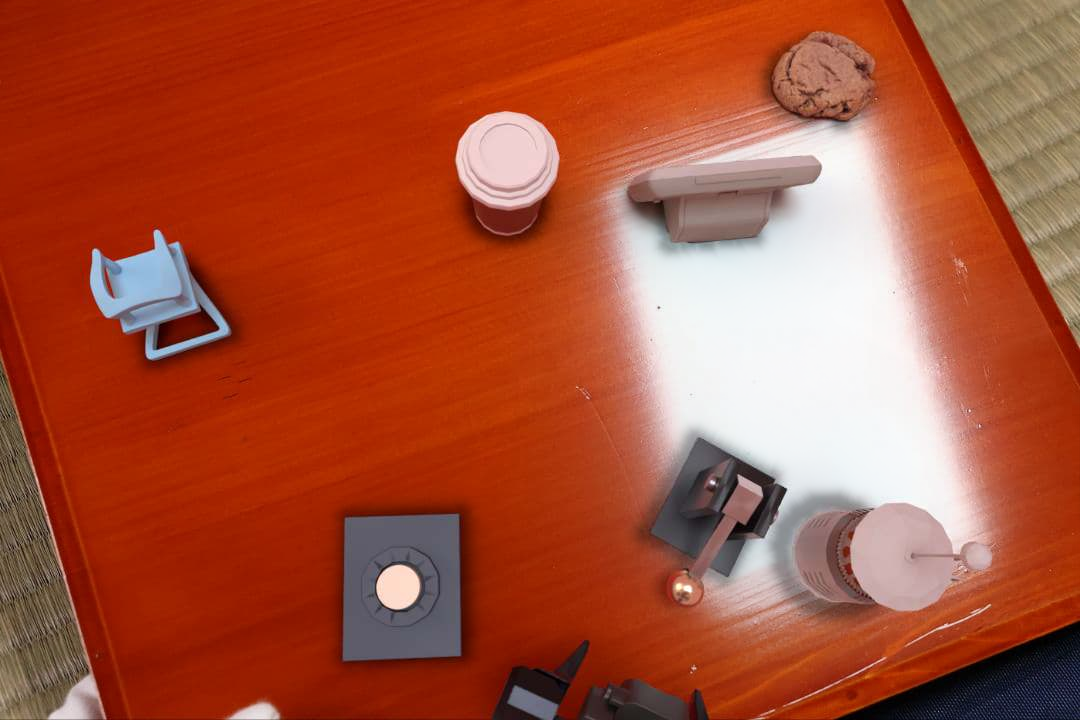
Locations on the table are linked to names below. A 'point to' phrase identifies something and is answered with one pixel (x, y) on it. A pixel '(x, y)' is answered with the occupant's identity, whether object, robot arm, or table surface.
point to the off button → (399, 586)
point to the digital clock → (721, 195)
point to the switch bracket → (713, 505)
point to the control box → (438, 607)
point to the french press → (880, 556)
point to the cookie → (824, 77)
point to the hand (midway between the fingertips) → (640, 667)
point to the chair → (153, 294)
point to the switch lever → (714, 543)
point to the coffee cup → (507, 169)
